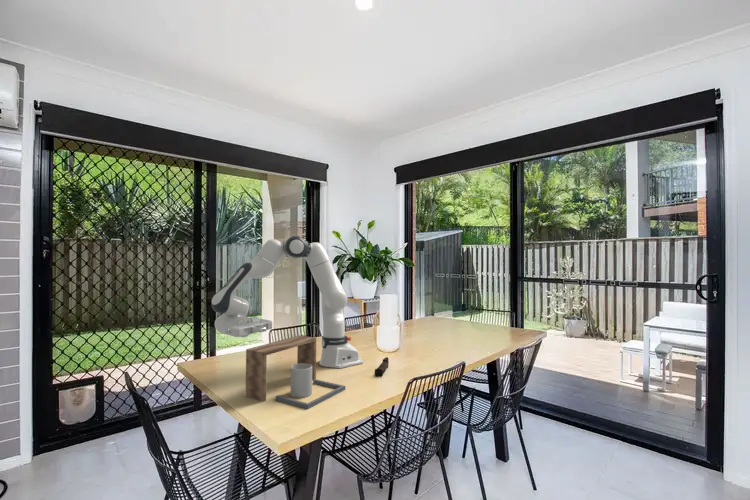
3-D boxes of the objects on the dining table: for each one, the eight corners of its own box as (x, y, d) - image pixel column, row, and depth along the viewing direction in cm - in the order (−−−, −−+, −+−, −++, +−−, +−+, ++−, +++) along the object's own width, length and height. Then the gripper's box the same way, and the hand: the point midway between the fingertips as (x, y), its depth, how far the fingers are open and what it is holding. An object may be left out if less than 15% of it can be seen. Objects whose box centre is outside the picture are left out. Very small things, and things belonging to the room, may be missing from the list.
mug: (309, 398, 145) (309, 369, 145) (287, 397, 146) (288, 369, 146) (315, 387, 157) (315, 361, 157) (295, 386, 158) (295, 360, 158)
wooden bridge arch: (245, 396, 146) (246, 349, 147) (299, 375, 173) (299, 335, 173) (263, 401, 141) (264, 352, 142) (315, 379, 167) (316, 337, 168)
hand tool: (382, 377, 171) (382, 367, 171) (374, 376, 172) (374, 366, 172) (392, 366, 189) (392, 356, 189) (385, 365, 190) (385, 356, 191)
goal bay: (275, 399, 143) (275, 396, 143) (315, 382, 163) (315, 379, 163) (307, 409, 135) (307, 404, 135) (345, 389, 155) (345, 385, 155)
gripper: (222, 324, 162) (244, 326, 155) (259, 316, 179) (280, 318, 172) (223, 338, 162) (244, 342, 155) (259, 329, 179) (280, 332, 172)
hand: (264, 329), depth 164 cm, fingers closed
